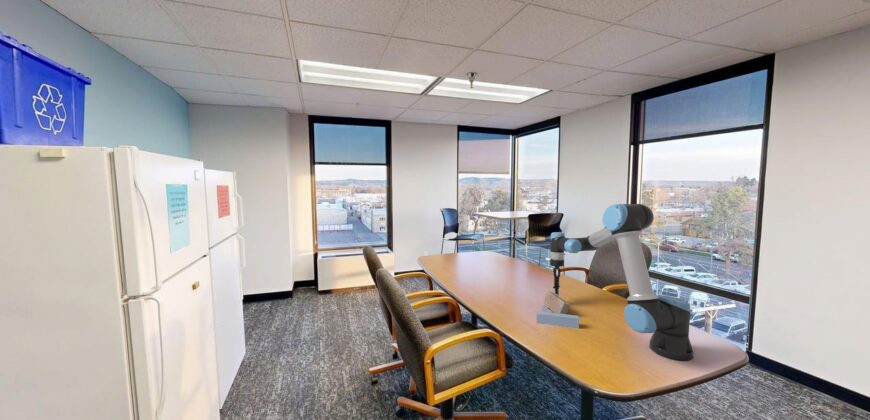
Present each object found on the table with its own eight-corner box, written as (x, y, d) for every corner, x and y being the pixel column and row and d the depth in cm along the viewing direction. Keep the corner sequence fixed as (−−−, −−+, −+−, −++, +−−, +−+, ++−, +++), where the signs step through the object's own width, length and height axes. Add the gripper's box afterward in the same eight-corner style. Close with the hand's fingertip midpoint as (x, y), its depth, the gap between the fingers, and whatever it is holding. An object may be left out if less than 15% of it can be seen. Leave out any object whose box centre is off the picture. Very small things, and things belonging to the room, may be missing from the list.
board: (578, 328, 160) (579, 318, 160) (536, 323, 167) (536, 313, 166) (576, 319, 172) (577, 310, 171) (537, 314, 178) (537, 305, 178)
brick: (571, 304, 173) (563, 302, 172) (565, 318, 174) (558, 316, 173) (553, 292, 189) (547, 290, 188) (549, 305, 190) (542, 303, 189)
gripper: (564, 261, 181) (563, 303, 183) (563, 257, 193) (562, 295, 195) (550, 260, 184) (549, 301, 185) (550, 256, 196) (549, 294, 197)
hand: (556, 298), depth 190 cm, fingers closed
